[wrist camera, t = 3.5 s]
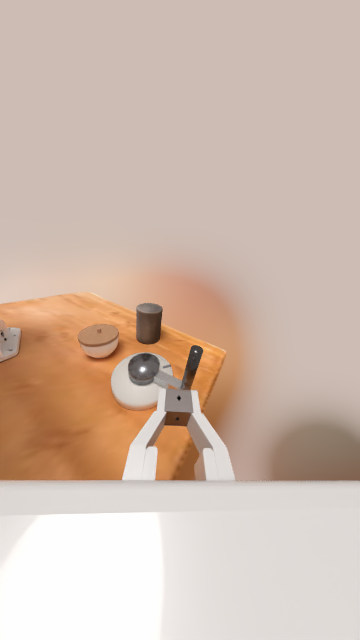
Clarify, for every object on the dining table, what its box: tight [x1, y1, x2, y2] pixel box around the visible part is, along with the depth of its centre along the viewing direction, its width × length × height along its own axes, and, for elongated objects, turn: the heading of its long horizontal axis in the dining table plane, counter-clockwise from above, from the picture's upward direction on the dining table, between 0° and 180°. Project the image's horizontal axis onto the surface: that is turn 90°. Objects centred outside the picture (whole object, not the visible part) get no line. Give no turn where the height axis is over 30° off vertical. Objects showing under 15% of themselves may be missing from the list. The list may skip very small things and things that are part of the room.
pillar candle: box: [136, 303, 162, 344], centre depth 51 cm, size 10×10×15 cm
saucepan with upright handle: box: [128, 345, 203, 390], centre depth 30 cm, size 17×8×14 cm, turn 67°
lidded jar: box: [78, 324, 119, 358], centre depth 41 cm, size 11×11×9 cm
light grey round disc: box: [111, 352, 173, 411], centre depth 36 cm, size 16×16×3 cm
